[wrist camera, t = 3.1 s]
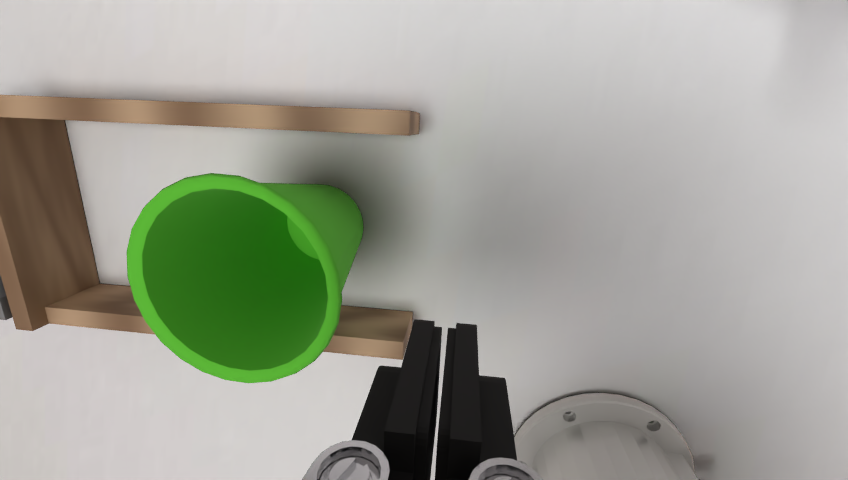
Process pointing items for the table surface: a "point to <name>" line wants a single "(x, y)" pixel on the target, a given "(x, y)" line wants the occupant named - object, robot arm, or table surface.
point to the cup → (243, 272)
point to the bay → (67, 229)
